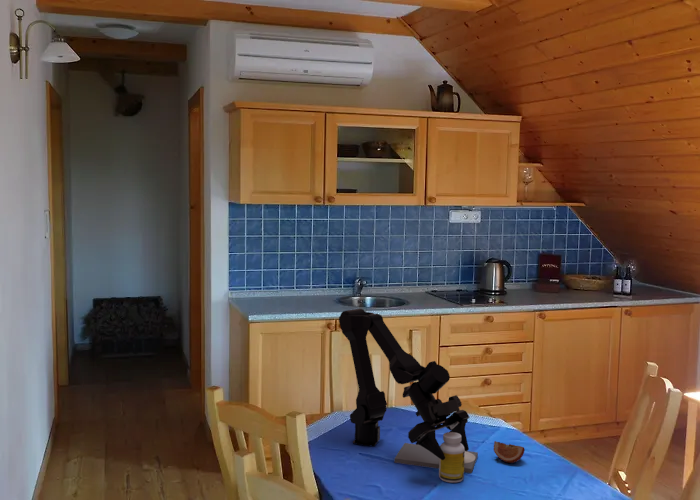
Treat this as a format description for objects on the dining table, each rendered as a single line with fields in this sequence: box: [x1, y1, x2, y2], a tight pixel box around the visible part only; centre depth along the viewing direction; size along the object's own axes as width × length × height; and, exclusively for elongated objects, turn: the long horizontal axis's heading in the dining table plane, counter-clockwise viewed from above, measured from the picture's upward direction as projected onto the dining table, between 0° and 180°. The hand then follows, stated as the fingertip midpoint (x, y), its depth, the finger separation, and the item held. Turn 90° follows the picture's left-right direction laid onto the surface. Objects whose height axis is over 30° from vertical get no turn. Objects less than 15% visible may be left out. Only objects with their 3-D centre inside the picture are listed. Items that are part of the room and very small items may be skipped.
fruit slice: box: [493, 440, 525, 464], centre depth 199 cm, size 8×7×5 cm
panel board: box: [393, 442, 479, 474], centre depth 199 cm, size 21×12×1 cm, turn 72°
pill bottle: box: [438, 431, 465, 484], centre depth 187 cm, size 6×6×12 cm
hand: (455, 454), depth 185 cm, fingers open, 9 cm apart
